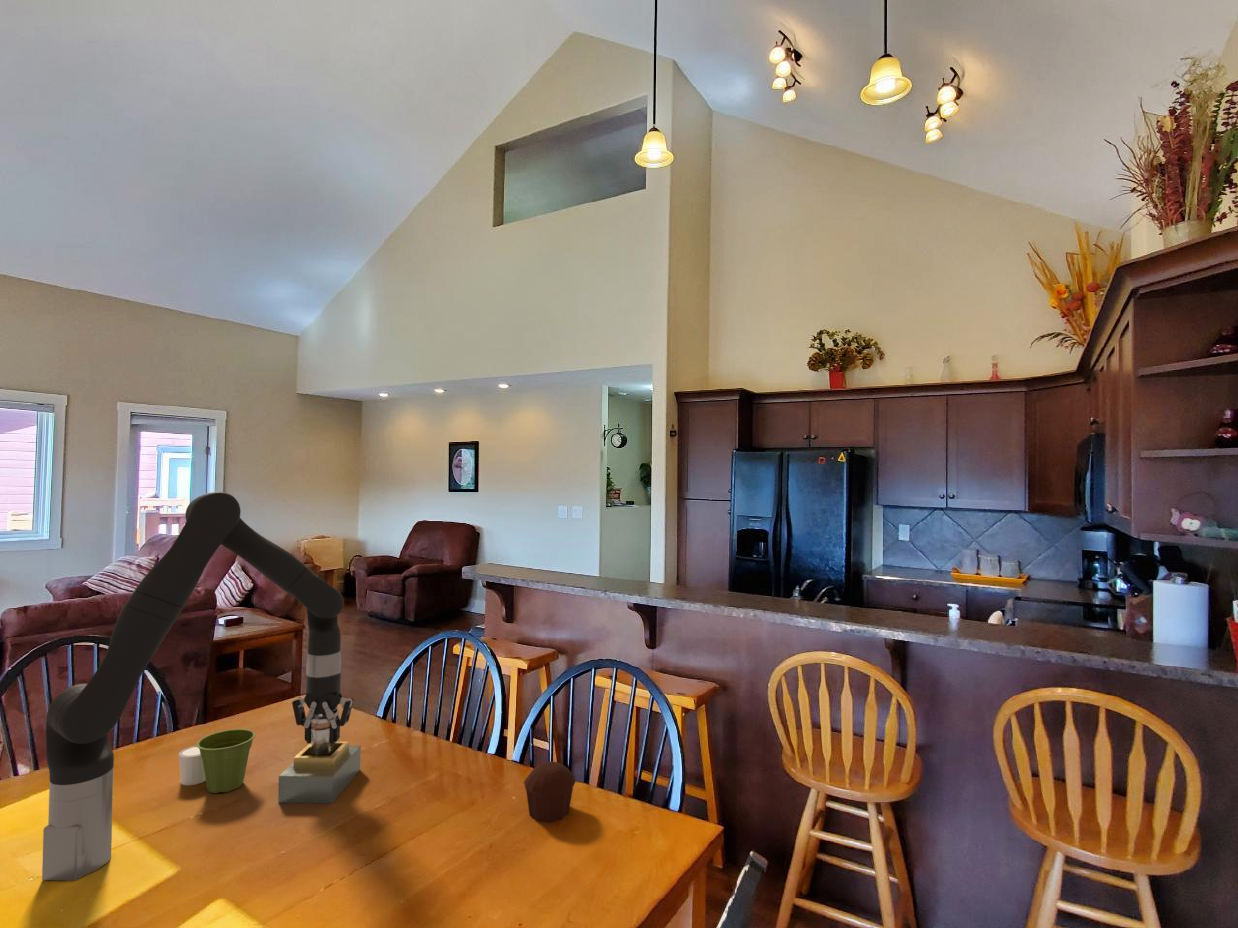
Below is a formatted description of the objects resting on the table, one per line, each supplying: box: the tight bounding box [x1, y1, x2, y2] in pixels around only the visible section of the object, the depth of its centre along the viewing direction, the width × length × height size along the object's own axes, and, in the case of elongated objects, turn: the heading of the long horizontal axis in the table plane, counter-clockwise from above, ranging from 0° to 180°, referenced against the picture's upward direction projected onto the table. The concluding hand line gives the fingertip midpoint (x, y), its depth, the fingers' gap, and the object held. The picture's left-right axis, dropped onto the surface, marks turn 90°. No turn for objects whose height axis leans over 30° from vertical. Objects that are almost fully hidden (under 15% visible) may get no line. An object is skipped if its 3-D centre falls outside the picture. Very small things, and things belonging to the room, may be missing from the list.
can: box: [310, 714, 334, 755], centre depth 150 cm, size 5×5×9 cm
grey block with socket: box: [277, 740, 362, 804], centre depth 151 cm, size 16×12×8 cm
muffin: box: [523, 761, 576, 823], centre depth 141 cm, size 12×11×10 cm
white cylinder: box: [178, 745, 206, 786], centre depth 152 cm, size 7×7×7 cm
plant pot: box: [195, 728, 256, 794], centre depth 149 cm, size 12×12×11 cm
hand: (322, 741), depth 150 cm, fingers closed on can, 5 cm apart
